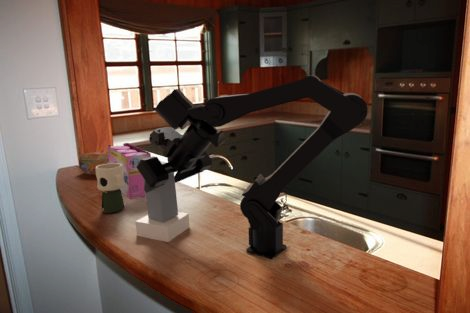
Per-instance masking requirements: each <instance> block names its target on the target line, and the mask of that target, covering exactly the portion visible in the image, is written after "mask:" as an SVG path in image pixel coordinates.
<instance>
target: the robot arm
mask: <svg viewBox="0 0 470 313" xmlns="http://www.w3.org/2000/svg"><path fill="white" fill-rule="evenodd" d="M307 98H308V99H310V100H311V101H313V102H315V103H317V105H320V106H321V107H323V108H324V109H325V110H328V112H327V114H326V115H325V117H324V118H323V120H322V121H321V123H320V124H319V125H318V127H317V128H316V129H315V130H314V131H313V132H312V133H311V134H310V135H309V136H307V138H306V139H305V140H304V141H303V142H302V143H301V144H300V145H299V146H298V147H297V148H296V149H295V150H294V151H293V152H292V153H291V154H290V156H288V157H287V159H285V160H284V162H282V163H281V165H280V166H278V168H277V169H276V170H274V171H273V173H271V174H270V175H269V176H267V177H264V176H263V174H262V173H260V174H259V175H258V176H257V177H256V179H255V181H254V182H252V183H250V184H249V185H248V186H247V187H246V189H244V191H243V193H242V194H241V196H242V199H241V201H240V204H239V205H240V206H239V207H240V208H239V209H240V212H241V213H242V215H243V216H244V218H246V219H247V221H248V224H249V227H248V247H247V248H245V249H246V250H245V252H247V253H250V254H253V255H256V256H260V257H263V258H267V259H271V260H273V259H275V258H276V257H278V255H279V254H280V253H283V251H285V249H287V245H286V244H284V223H283V222H280V218H281V215H282V212H283V209H284V207H283V206H281V204H280V203H279V202H278V201H277V200H278V198H279V197H280V195H281V193H282V192H283V191H284V190H285V189H286V188H287V187H288V185H290V184H291V183H292V182H293V181H294V180H295V179H296V178H297V177H298V176H299V175H300V174H301V173H302V172H303V171H304V170H305V169H306V168H307V167H308V166H309V165H310V164H311V163H313V161H314V160H316V159H317V157H318V156H319V155H321V153H323V151H324V150H325V149H326V148H327V147H328V146H330V145H331V144H332V143H333V142H334V141H335V140H337V139H339V138H341V137H343V136H345V135H347V134H348V133H350V132H351V131H352V130H354V129H355V128H357V127H358V126H360V125H361V124H362V123H364V121H365V120H366V118H367V116H368V112H369V111H368V110H369V109H368V105H367V103H366V101H365V100H364V98H363V97H361V95H359V94H358V93H355V92H345V93H344V92H343V91H341V90H339V89H337V88H336V87H333V86H332V85H330V84H328V83H327V82H324V81H323V80H321V79H320V78H319V77H318V76H316V75H313V74H311V75H306V76H304V77H303V78H301V79H297V80H293V81H290V82H286V83H283V84H282V83H281V84H279V85H276V86H272V87H269V88H265V89H262V90H258V91H254V92H251V93H242V94H231V95H221V96H217V97H213V98H209V99H208V100H207V101H205V103H204V104H203V103H200V104H194V103H193V102H192V101H191V100H190V99H189V98H187V96H185V94H184V92H182V90H181V89H179V88H176V89H175V88H174V89H173V90H172V92H171V93H169V94H167V95H166V96H165V97H164V98H163V99H161V100H160V101H159V102H158V104H156V107H155V109H154V112H155V113H156V114H157V115H158V116H160V118H161V119H163V120H164V121H165V123H166V124H168V125H169V126H165V127H159V128H156V129H155V130H154V129H153V130H152V132H151V133H150V134H149V137H148V141H149V142H150V144H152V145H153V146H155V147H160V149H162V156H164V157H165V158H167V159H166V160H167V163H164V164H162V163H161V162H160V161H161V160H160V159H159V158H158V157H157V156H155V155H154V156H153V155H151V157H148V158H144V159H141V160H140V161H139V163H138V164H137V167H136V168H137V169H138V170H139V172H140V173H141V175H142V176H143V178H144V179H145V185H144V190H145V192H146V193H148V192H150V191H152V190H154V189H156V188H158V187H161V186H163V185H165V184H164V183H165V182H167V180H168V179H169V175H168V174H171V173H174V178H175V184H176V183H179V182H181V181H183V180H186V179H188V178H191V177H193V176H195V175H198V174H201V173H203V172H204V171H207V170H209V169H210V168H211V166H212V165H213V161H212V160H213V159H212V158H211V156H210V155H209V153H207V151H206V150H208V148H209V146H210V145H211V144H212V145H213V146H214V147H215V148H218V147H220V146H221V145H223V143H224V142H226V138H225V135H224V130H219V129H218V127H222V126H225V125H227V124H229V123H232V122H234V121H235V120H237V119H239V118H242V117H244V116H246V115H248V114H250V113H253V112H256V111H257V112H258V111H261V110H265V109H268V108H273V107H276V106H279V105H283V104H287V103H291V102H295V101H298V100H302V99H307ZM186 128H187V129H186ZM177 129H178V130H179V129H180V130H184V129H186V130H185V131H184V133H183V134H181V133H180V132H178V131H177Z"/></svg>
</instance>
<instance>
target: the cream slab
mask: <svg viewBox="0 0 470 313" xmlns="http://www.w3.org/2000/svg"><path fill="white" fill-rule="evenodd" d="M189 228H190V214H189V213H188V212H182V211H178V215H177V216H175V217H174V218H172V219H170V220H168V221H166V222H164V223H162V222H158V221H155V220H152V219H149V218H148V214H146V215H144V216H142V217H141V218H139V219H137V220H135V229H136V230H135V232H136V236H137V237H141V238H147V239H152V240H155V241H156V240H157V241H161V242H166V243H169V242H171V241H172V240H174V239H175V238H176V237H177V236H179V235H180V234H183V233H184V232H185V231H187V230H188V229H189Z"/></svg>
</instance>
